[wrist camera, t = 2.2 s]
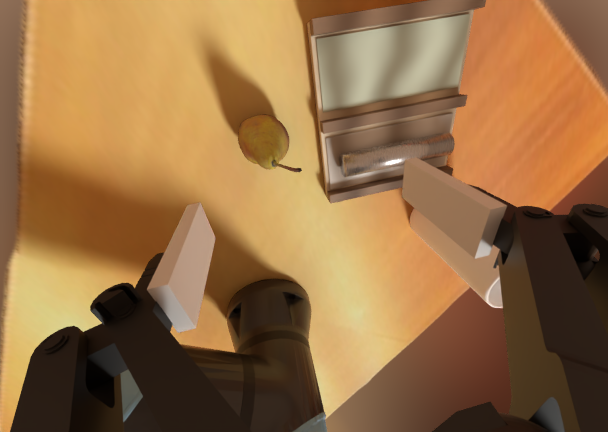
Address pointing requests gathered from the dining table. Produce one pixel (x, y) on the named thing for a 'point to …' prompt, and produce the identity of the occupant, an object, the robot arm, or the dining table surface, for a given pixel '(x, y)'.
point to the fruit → (264, 141)
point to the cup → (462, 260)
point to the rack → (386, 84)
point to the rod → (395, 154)
